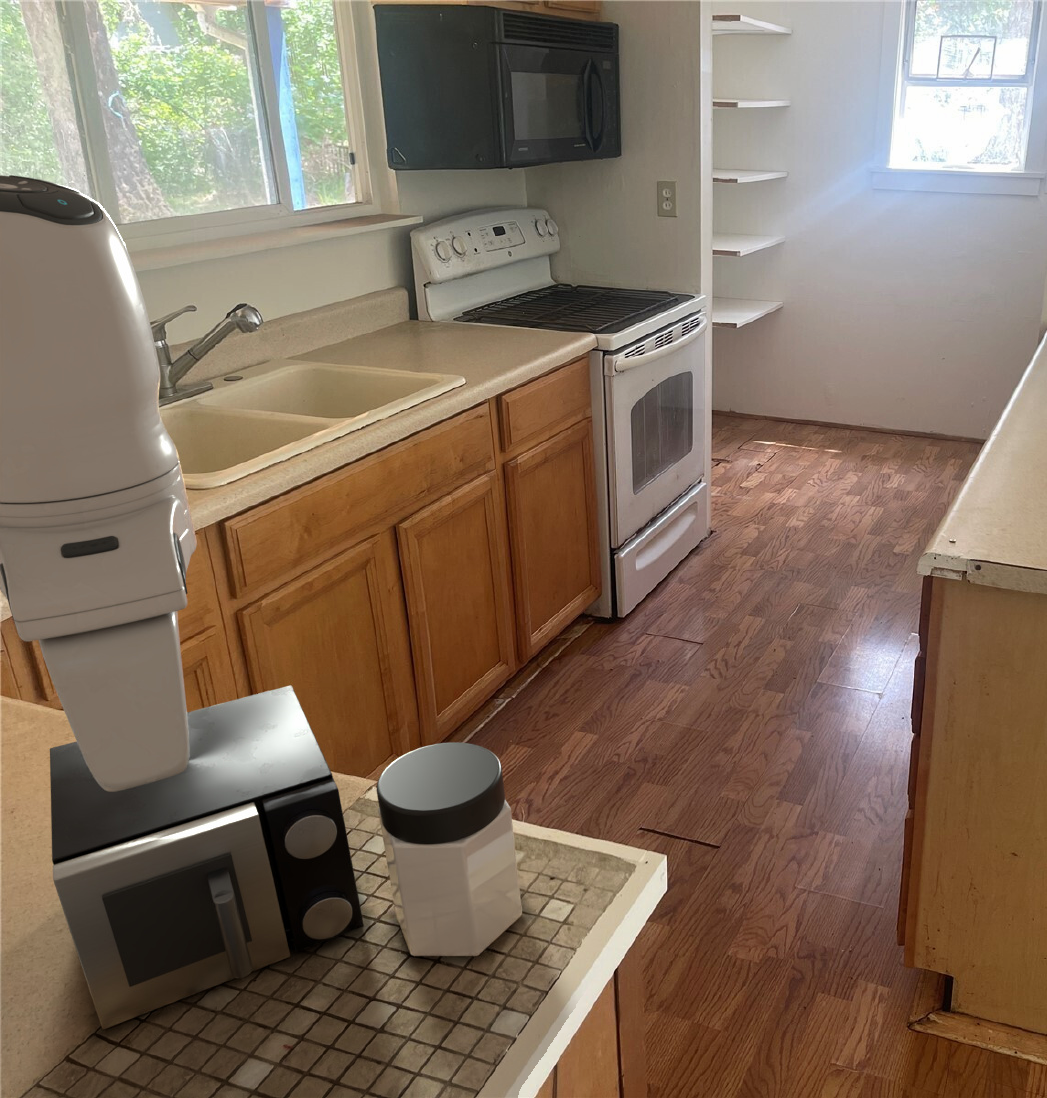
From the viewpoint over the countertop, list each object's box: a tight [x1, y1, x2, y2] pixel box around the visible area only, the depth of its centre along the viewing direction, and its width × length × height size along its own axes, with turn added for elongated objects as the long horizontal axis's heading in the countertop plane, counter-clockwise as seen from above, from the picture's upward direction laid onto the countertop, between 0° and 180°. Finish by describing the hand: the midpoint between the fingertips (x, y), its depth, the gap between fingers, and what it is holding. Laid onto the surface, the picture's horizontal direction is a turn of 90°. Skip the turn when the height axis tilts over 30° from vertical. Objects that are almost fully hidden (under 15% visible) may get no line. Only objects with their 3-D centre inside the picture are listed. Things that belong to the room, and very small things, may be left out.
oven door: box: [52, 802, 291, 1030], centre depth 64 cm, size 5×11×12 cm, turn 123°
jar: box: [376, 742, 523, 957], centre depth 71 cm, size 9×8×12 cm
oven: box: [49, 684, 365, 953], centre depth 71 cm, size 16×16×12 cm
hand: (151, 767), depth 55 cm, fingers closed
